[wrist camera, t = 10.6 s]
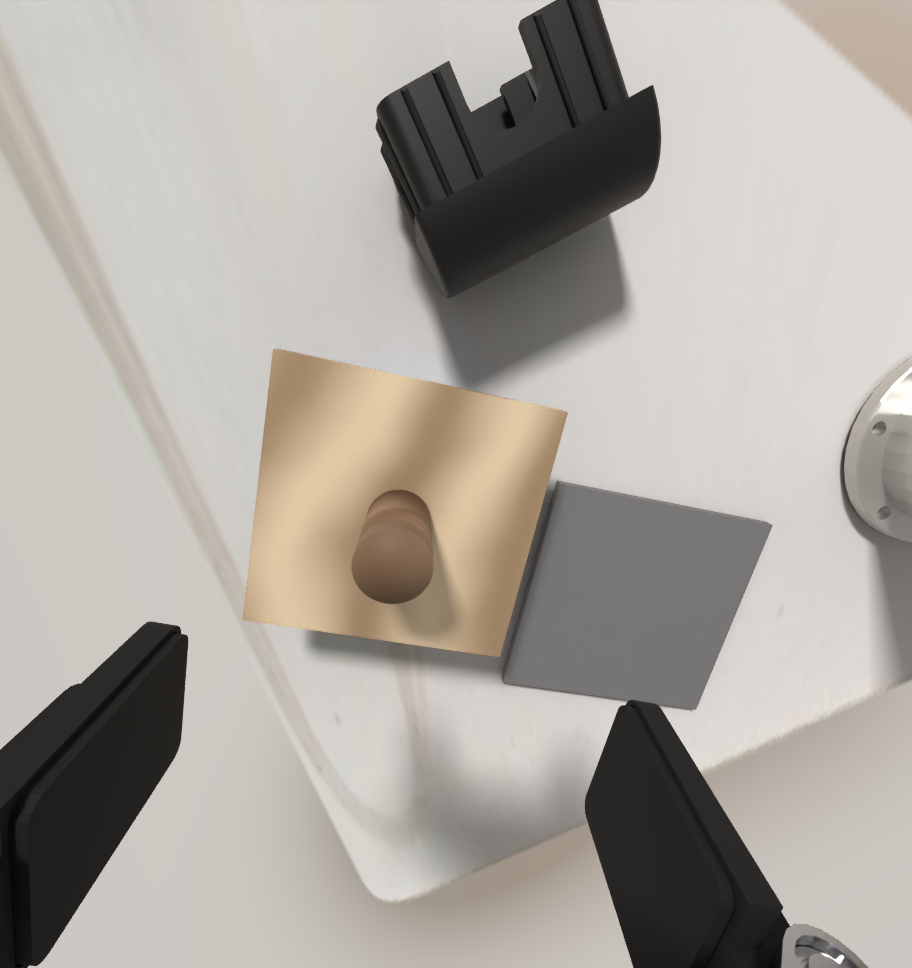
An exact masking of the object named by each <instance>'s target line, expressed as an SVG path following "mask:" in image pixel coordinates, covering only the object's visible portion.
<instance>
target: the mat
mask: <svg viewBox="0 0 912 968" xmlns="http://www.w3.org/2000/svg"><path fill="white" fill-rule="evenodd" d="M771 528H772V525H771V524H769V523H767V522H764V521H759V520H754V519H749V518H744V517H739V516H734V515H729V514H723V513H718V512H713V511H708V510H703V509H698V508H693V507H688V506H683V505H678V504H673V503H668V502H662V501H657V500H652V499H647V498H642V497H637V496H632V495H627V494H622V493H617V492H612V491H607V490H602V489H596V488H591V487H586V486H581V485H576V484H571V483H566V482H561V481H557V483H556V487H555V490H554V494H553V497H552V501H551V504H550V508H549V511H548V515H547V518H546V522H545V526H544V529H543V533H542V536H541V540H540V543H539V547H538V550H537V554H536V557H535V561H534V564H533V568H532V572H531V575H530V579H529V582H528V586H527V589H526V593H525V596H524V600H523V603H522V607H521V611H520V614H519V618H518V621H517V625H516V628H515V632H514V635H513V639H512V642H511V646H510V649H509V653H508V657H507V660H506V664H505V667H504V671H503V674H502V680H503V683H508V684H515V685H522V686H529V687H537V688H544V689H551V690H558V691H565V692H573V693H580V694H587V695H594V696H601V697H609V698H616V699H623V700H637V701H643V702H649V703H655V704H659V705H666V706H674V707H681V708H688V709H695V710H696V708H697V706H698V703H699V701H700V699H701V696H702V694H703V691H704V689H705V686H706V684H707V682H708V679H709V677H710V674H711V672H712V670H713V667H714V665H715V662H716V660H717V658H718V655H719V653H720V650H721V648H722V646H723V643H724V641H725V638H726V636H727V634H728V631H729V629H730V626H731V624H732V622H733V619H734V617H735V614H736V612H737V610H738V607H739V605H740V602H741V600H742V598H743V595H744V593H745V590H746V588H747V586H748V583H749V581H750V578H751V576H752V574H753V571H754V569H755V566H756V564H757V562H758V559H759V557H760V554H761V552H762V550H763V547H764V545H765V542H766V540H767V538H768V535H769V533H770V530H771Z"/></svg>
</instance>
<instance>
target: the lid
mask: <svg viewBox="0 0 912 968" xmlns="http://www.w3.org/2000/svg"><path fill="white" fill-rule="evenodd" d="M567 414H568V412H565V411H563V410H559V409H554V408H549V407H545V406H540V405H536V404H531V403H526V402H522V401H517V400H513V399H508V398H503V397H499V396H494V395H489V394H485V393H480V392H476V391H471V390H466V389H462V388H457V387H453V386H448V385H443V384H439V383H434V382H429V381H425V380H420V379H416V378H411V377H406V376H402V375H397V374H392V373H388V372H383V371H379V370H374V369H369V368H365V367H360V366H356V365H351V364H346V363H342V362H337V361H332V360H328V359H323V358H319V357H314V356H309V355H305V354H300V353H296V352H291V351H286V350H282V349H273V354H272V363H271V372H270V381H269V390H268V399H267V408H266V417H265V426H264V435H263V444H262V452H261V461H260V470H259V479H258V488H257V497H256V506H255V515H254V524H253V533H252V542H251V551H250V560H249V569H248V578H247V587H246V596H245V605H244V614H243V620H246V621H253V622H260V623H267V624H274V625H280V626H287V627H294V628H301V629H308V630H315V631H322V632H329V633H335V634H342V635H349V636H356V637H363V638H370V639H377V640H383V641H390V642H397V643H404V644H411V645H418V646H425V647H432V648H438V649H445V650H452V651H459V652H466V653H473V654H480V655H487V656H493V657H500V655H501V651H502V648H503V644H504V641H505V637H506V633H507V630H508V626H509V623H510V619H511V615H512V612H513V608H514V605H515V601H516V597H517V594H518V590H519V587H520V583H521V579H522V576H523V572H524V569H525V565H526V561H527V558H528V554H529V551H530V547H531V543H532V540H533V536H534V533H535V529H536V525H537V522H538V518H539V514H540V511H541V507H542V504H543V500H544V496H545V493H546V489H547V486H548V482H549V478H550V475H551V471H552V468H553V464H554V460H555V457H556V453H557V450H558V446H559V442H560V439H561V435H562V432H563V428H564V424H565V421H566V417H567Z"/></svg>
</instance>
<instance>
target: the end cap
mask: <svg viewBox="0 0 912 968" xmlns="http://www.w3.org/2000/svg"><path fill="white" fill-rule="evenodd" d="M518 29H519V32H520V34H521V37H522V40H523V43H524V45H525V48H526V51H527V53H528V56H529V59H530V62H531V64H532V67H533V68H532V69H530V70H528V71H526V72H525V73H523V74H521V75H519V76H517V77H516V78H514V79H512V80H510V81H508V82H507V83H505V84H503V85H501V88H500V93H501V96H500V97H498V98H496V99H494V100H493V101H491V102H489V103H487V104H485V105H484V106H482V107H480V108H478V109H476V110H475V111H473V112H471V111H470V110H469V108H468V106H467V104H466V101H465V99H464V96H463V94H462V92H461V89H460V87H459V84H458V82H457V79H456V77H455V74H454V72H453V70H452V67H451V65H450V62H449V61H448V62H446V63H444V64H442V65H440V66H439V67H437V68H435V69H433V70H432V71H430V72H428V73H426V74H425V75H423V76H421V77H419V78H417V79H416V80H414V81H412V82H410V83H409V84H407V85H405V86H403V87H402V88H400V89H398V90H396V91H394V92H393V93H391V94H389V95H388V96H386V97H385V98H384V99H383V100H382V101H381V102H380V103H379V104H378V106H377V110H376V111H377V117H378V119H377V123H376V130H377V132H378V135H379V137H380V139H381V141H382V146H381V154H382V156H383V158H384V160H385V162H386V164H387V166H388V169H389V171H390V173H391V175H392V177H393V179H394V181H395V184H396V186H397V188H398V190H399V192H400V194H401V196H402V198H403V201H404V203H405V205H406V207H407V209H408V211H409V213H410V216H411V218H412V220H413V222H414V224H415V235H416V247H417V249H418V251H419V253H420V255H421V257H422V259H423V261H424V263H425V265H426V267H427V269H428V271H429V273H430V275H431V277H432V278H433V280H434V282H435V284H436V285H437V287H438V289H439V290H440V292H441V293H442V294H443V295H444V296H445V297H453V296H455V295H457V294H459V293H461V292H463V291H464V290H466V289H468V288H470V287H472V286H474V285H476V284H478V283H480V282H481V281H483V280H485V279H487V278H489V277H491V276H493V275H495V274H497V273H499V272H500V271H502V270H504V269H506V268H508V267H510V266H512V265H514V264H516V263H517V262H519V261H521V260H523V259H525V258H527V257H529V256H531V255H533V254H534V253H536V252H538V251H540V250H542V249H544V248H546V247H548V246H550V245H551V244H553V243H555V242H557V241H559V240H561V239H563V238H565V237H567V236H569V235H570V234H572V233H574V232H576V231H578V230H580V229H582V228H584V227H586V226H587V225H589V224H591V223H593V222H595V221H597V220H599V219H601V218H603V217H604V216H606V215H608V214H610V213H612V212H614V211H616V210H618V209H620V208H621V207H623V206H625V205H627V204H629V203H631V202H633V201H635V200H637V199H639V198H640V197H642V196H643V195H644V194H645V193H646V192H647V191H648V189H649V188H650V186H651V184H652V182H653V180H654V178H655V174H656V171H657V168H658V164H659V158H660V149H661V127H660V116H659V109H658V103H657V99H656V95H655V91H654V87H653V85H652V86H649V87H648V88H646V89H644V90H642V91H640V92H638V93H637V94H635V95H633V96H631V97H628V93H627V90H626V87H625V84H624V81H623V78H622V75H621V72H620V68H619V65H618V62H617V59H616V56H615V53H614V50H613V47H612V43H611V40H610V37H609V34H608V31H607V28H606V25H605V22H604V18H603V15H602V12H601V9H600V6H599V3H598V0H556V1H554V2H552V3H550V4H548V5H547V6H545V7H543V8H541V9H540V10H538V11H536V12H534V13H533V14H531V15H529V16H527V17H525V18H524V19H522V20H521V21H520V24H519V27H518Z"/></svg>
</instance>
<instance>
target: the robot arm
mask: <svg viewBox="0 0 912 968" xmlns="http://www.w3.org/2000/svg"><path fill="white" fill-rule="evenodd" d="M844 475H845V486H846V489H847V492H848V496H849V499H850V501H851V503H852V505H853V507H854V508H855V510H856V512H857V513H858V515H859V516H860V517H861V518H862V519H863V520H864V521H865V522H866V523H867V524H868V525H869V526H871V527H873V528H874V529H876V530H878V531H879V532H881V533H883V534H886V535H888V536H891V537H893V538H896V539H898V540H901V541H905V542H910V543H912V357H911V358H910V359H908V360H906V361H905V362H904V363H903V364H901V365H900V366H899V367H898V368H896V369H895V370H894V371H893V372H892V373H890V374H889V375H888V376H887V377H886V378H885V380H884V381H883V382H882V383H881V384H880V385H879V386H878V387H877V388H876V389H875V390H874V392H873V393H872V395H871V396H870V397H869V399H868V400H867V402H866V403H865V405H864V406H863V408H862V409H861V411H860V413H859V415H858V417H857V419H856V421H855V423H854V425H853V428H852V430H851V434H850V437H849V440H848V444H847V447H846V453H845V462H844ZM187 650H188V637H187V635H184V634H181V629H180V627H179V626H175V625H169V624H163V623H157V622H147V623H146V624H144V625H143V626H142V627H141V628H140V629H139V630H138V631H137V632H136V633H135V634H133V635H132V636H131V637H130V638H129V639H128V640H127V641H126V642H125V643H124V644H123V645H122V646H121V647H119V648H118V650H117V651H115V652H114V653H113V654H112V655H111V656H110V657H109V658H108V659H107V660H106V661H105V662H104V663H102V664H101V665H100V666H99V667H98V668H97V669H96V670H95V671H94V672H93V673H92V674H91V675H90V676H89V677H88V678H86V679H85V680H84V681H83V682H82V683H81V684H76V685H73V686H71V687H69V688H68V689H67V690H65V691H64V692H63V693H62V694H61V695H60V696H59V697H57V698H56V699H55V700H54V701H53V702H52V703H51V704H50V705H49V706H48V707H46V708H45V709H44V710H43V711H42V712H41V713H40V714H39V715H38V716H37V717H36V718H35V719H33V720H32V721H31V722H30V723H29V724H28V725H27V726H26V727H25V728H24V729H23V730H22V731H20V732H19V733H18V734H17V735H16V736H15V737H14V738H13V739H12V740H11V741H10V742H8V743H7V744H6V745H5V746H4V747H3V748H2V749H1V750H0V968H27V967H28V966H29V965H31V966H37V965H39V964H40V963H41V962H42V961H43V960H44V959H45V958H46V956H47V955H48V953H49V952H50V951H51V949H52V948H53V946H54V944H55V943H56V941H57V940H58V938H59V937H60V935H61V934H62V932H63V930H64V929H65V927H66V926H67V924H68V923H69V921H70V919H71V918H72V916H73V915H74V913H75V912H76V910H77V909H78V907H79V906H80V904H81V903H82V901H83V899H84V898H85V896H86V895H87V893H88V892H89V890H90V888H91V887H92V885H93V884H94V882H95V881H96V879H97V878H98V876H99V874H100V873H101V871H102V870H103V868H104V867H105V865H106V864H107V862H108V861H109V859H110V857H111V856H112V854H113V853H114V851H115V850H116V848H117V847H118V845H119V844H120V842H121V840H122V839H123V837H124V836H125V834H126V832H127V831H128V830H129V828H130V826H131V825H132V823H133V822H134V820H135V819H136V817H137V816H138V814H139V812H140V811H141V809H142V808H143V806H144V805H145V803H146V802H147V800H148V798H149V797H150V795H151V794H152V792H153V791H154V789H155V787H156V786H157V784H158V783H159V781H160V780H161V778H162V777H163V775H164V774H165V772H166V770H167V769H168V767H169V766H170V764H171V762H172V761H173V759H174V758H175V756H176V754H177V751H178V748H179V745H180V742H181V732H182V719H183V706H184V692H185V677H186V665H187ZM585 813H586V818H587V821H588V824H589V827H590V830H591V834H592V836H593V840H594V843H595V846H596V849H597V853H598V856H599V859H600V862H601V865H602V869H603V872H604V875H605V878H606V881H607V885H608V888H609V890H610V894H611V897H612V900H613V904H614V907H615V910H616V913H617V916H618V919H619V923H620V926H621V929H622V932H623V935H624V939H625V942H626V945H627V948H628V951H629V955H630V958H631V961H632V964H633V967H634V968H868V967H867V966H866V965H865V964H864V963H863V962H862V961H861V960H860V959H859V957H857V956H856V955H855V953H853V952H852V951H851V950H850V949H849V948H847V947H846V946H845V945H844V944H842V943H841V942H840V941H839V940H837V939H836V938H834V937H832V936H831V935H829V934H828V933H826V932H824V931H822V930H821V929H818V928H815V927H812V926H810V925H807V924H794V925H792V926H791V927H790V926H789V924H788V922H787V921H786V919H785V917H784V916H783V914H782V912H781V911H782V909H783V906H782V904H781V903H780V901H779V900H778V898H777V896H776V895H775V893H774V891H773V890H772V888H771V887H770V885H769V883H768V882H767V880H766V879H765V877H764V875H763V874H762V872H761V870H760V869H759V867H758V865H757V864H756V862H755V861H754V859H753V857H752V856H751V854H750V852H749V851H748V849H747V848H746V846H745V844H744V843H743V841H742V840H741V838H740V836H739V835H738V833H737V831H736V830H735V828H734V826H733V825H732V823H731V822H730V820H729V819H728V817H727V815H726V813H725V812H724V810H723V809H722V807H721V805H720V804H719V802H718V801H717V799H716V797H715V796H714V794H713V792H712V791H711V789H710V787H709V786H708V784H707V783H706V781H705V779H704V778H703V776H702V774H701V773H700V771H699V770H698V768H697V766H696V765H695V763H694V761H693V760H692V758H691V757H690V755H689V753H688V752H687V750H686V748H685V747H684V745H683V744H682V742H681V740H680V739H679V737H678V735H677V734H676V732H675V731H674V729H673V727H672V726H671V724H670V722H669V721H668V719H667V718H666V716H665V714H664V713H663V711H662V709H661V708H660V707H659V706H658V705H657V704H655V703H649V702H643V701H637V700H629V701H628V702H627V704H626V705H625V706H624V705H622V706H620V707H619V709H618V711H617V714H616V717H615V719H614V722H613V725H612V728H611V730H610V733H609V736H608V738H607V741H606V744H605V746H604V749H603V752H602V754H601V757H600V760H599V762H598V765H597V768H596V770H595V773H594V776H593V779H592V781H591V784H590V787H589V789H588V792H587V795H586V798H585Z"/></svg>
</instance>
